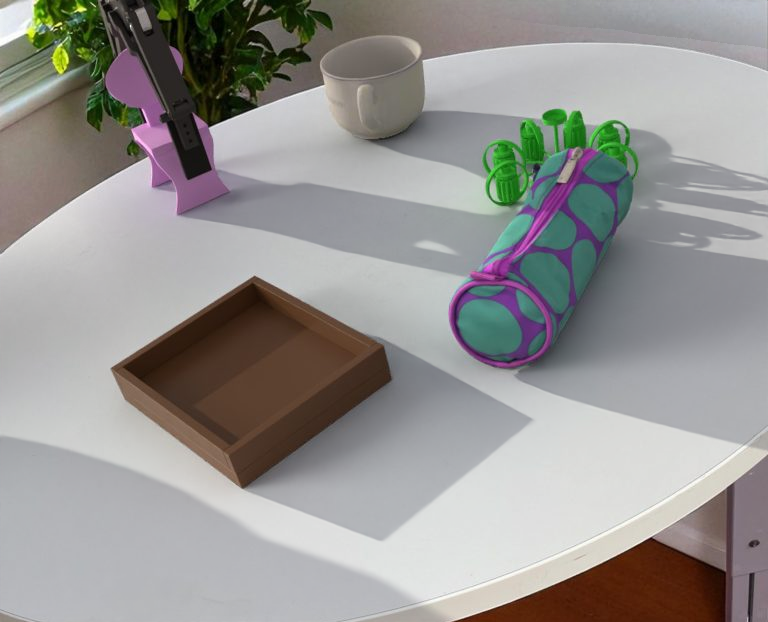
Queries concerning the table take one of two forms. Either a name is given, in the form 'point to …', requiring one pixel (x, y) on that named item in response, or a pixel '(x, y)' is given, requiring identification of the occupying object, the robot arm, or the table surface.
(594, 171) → the pencil case
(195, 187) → the toy chair
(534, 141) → the chandelier
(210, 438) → the brown wooden tray
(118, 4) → the robot arm
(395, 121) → the teacup
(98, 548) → the table surface
